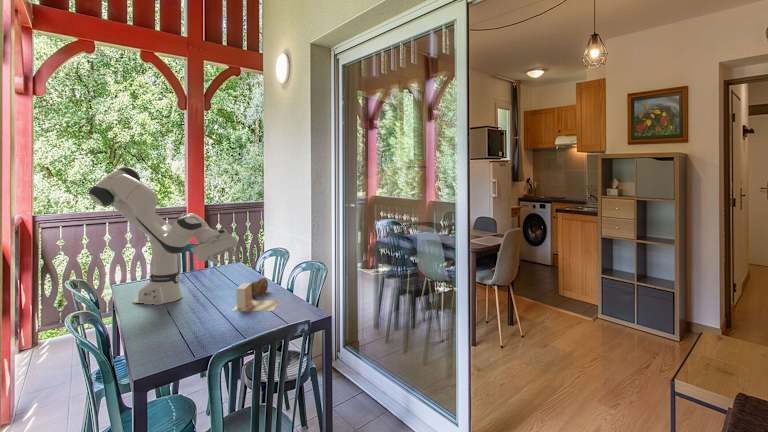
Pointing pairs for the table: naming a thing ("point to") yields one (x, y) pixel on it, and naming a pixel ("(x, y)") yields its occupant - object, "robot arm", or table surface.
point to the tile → (244, 295)
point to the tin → (259, 287)
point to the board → (259, 306)
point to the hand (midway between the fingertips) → (226, 259)
